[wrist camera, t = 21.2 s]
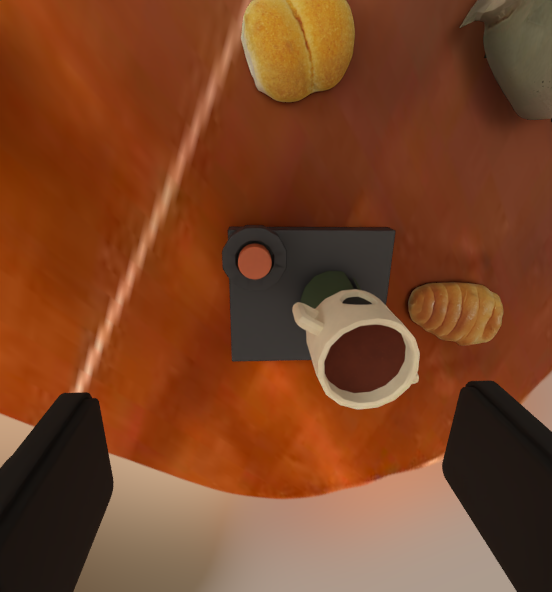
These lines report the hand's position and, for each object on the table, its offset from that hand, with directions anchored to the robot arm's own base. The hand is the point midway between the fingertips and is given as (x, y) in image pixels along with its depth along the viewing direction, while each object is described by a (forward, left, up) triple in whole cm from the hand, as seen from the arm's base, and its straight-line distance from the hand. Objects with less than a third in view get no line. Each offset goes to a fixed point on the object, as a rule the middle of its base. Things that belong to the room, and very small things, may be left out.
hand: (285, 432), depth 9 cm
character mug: (+7, -6, -26) cm, 28 cm away
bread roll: (+3, +16, -28) cm, 32 cm away
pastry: (+21, -8, -28) cm, 36 cm away
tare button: (-1, -2, -25) cm, 25 cm away
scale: (+5, -6, -28) cm, 29 cm away
